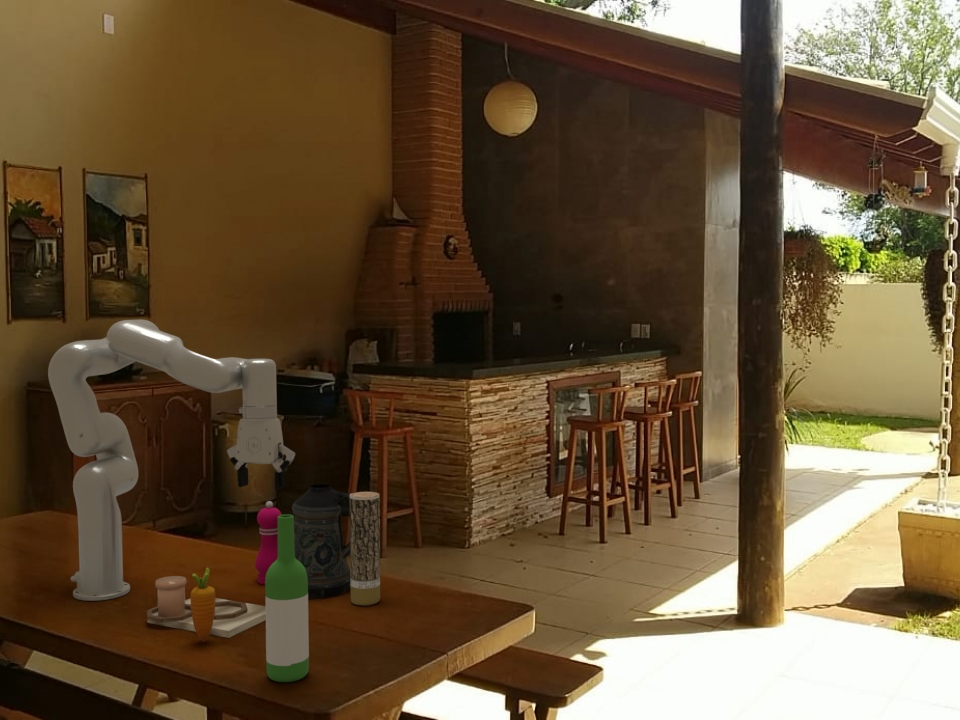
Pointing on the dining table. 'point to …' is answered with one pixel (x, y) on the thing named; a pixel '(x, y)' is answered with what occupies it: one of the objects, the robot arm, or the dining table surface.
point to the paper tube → (365, 548)
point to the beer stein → (322, 540)
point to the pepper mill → (267, 540)
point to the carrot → (203, 606)
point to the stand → (216, 617)
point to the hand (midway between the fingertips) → (261, 487)
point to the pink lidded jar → (171, 596)
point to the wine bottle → (286, 610)
